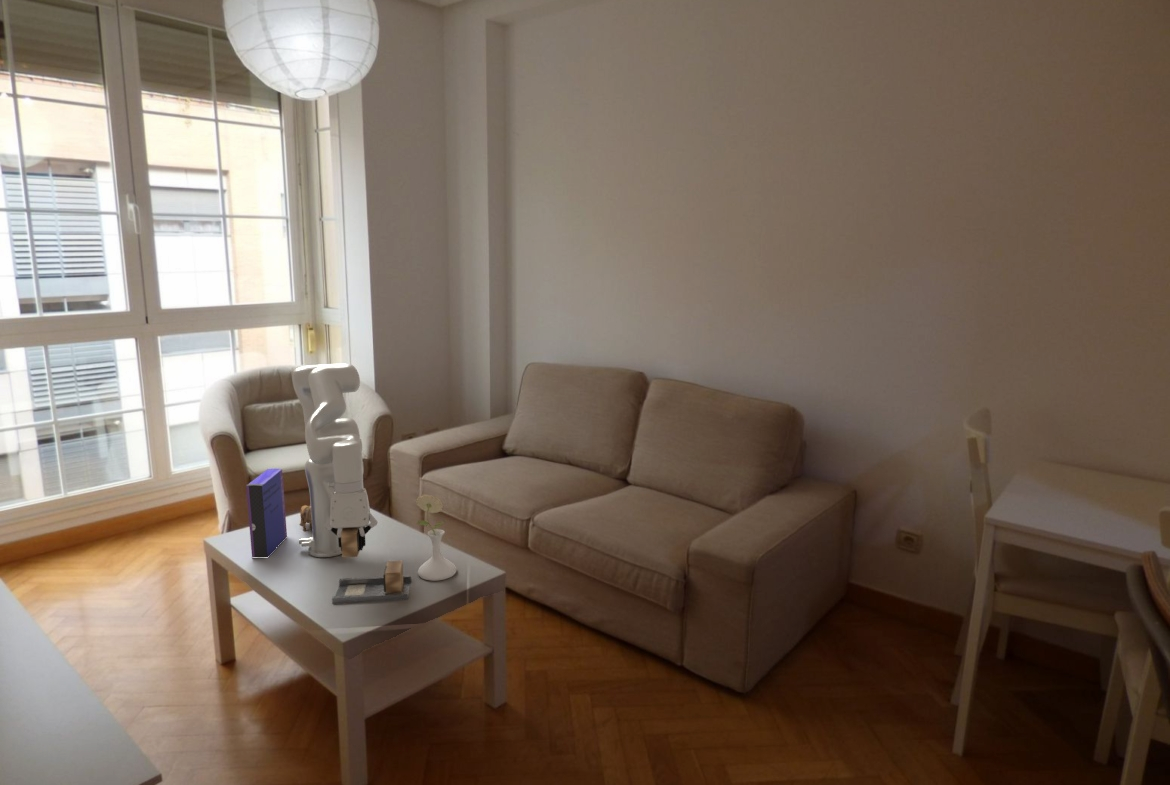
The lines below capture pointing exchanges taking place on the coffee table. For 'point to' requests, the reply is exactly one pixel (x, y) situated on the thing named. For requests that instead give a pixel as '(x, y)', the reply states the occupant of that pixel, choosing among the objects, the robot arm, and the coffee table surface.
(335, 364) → the robot arm
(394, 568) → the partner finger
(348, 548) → the block
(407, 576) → the gray tray
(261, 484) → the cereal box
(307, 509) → the lion figurine
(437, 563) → the flower in vase
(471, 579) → the coffee table surface
